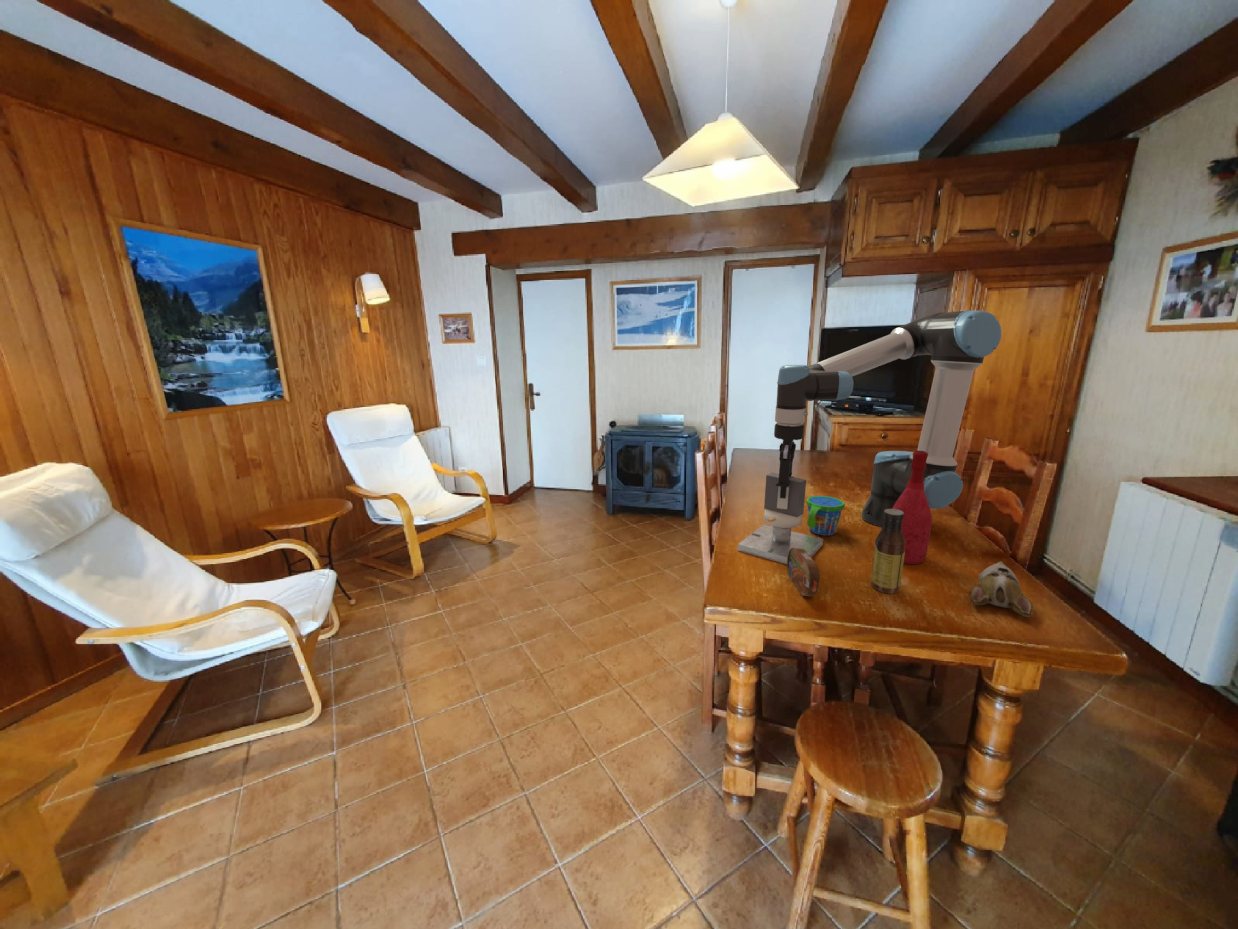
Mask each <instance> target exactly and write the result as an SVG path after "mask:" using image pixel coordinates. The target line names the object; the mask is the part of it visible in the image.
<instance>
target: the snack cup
mask: <svg viewBox="0 0 1238 929" xmlns="http://www.w3.org/2000/svg"><path fill="white" fill-rule="evenodd" d="M805 504H806V505H807V514H808V518H807V520H806V524H807V526H808V528H809V531H811V533H814V534H815V535H819V536H820V535H821V536H829V537H830V536H832V535H835V534H836V532H837V528H838V525H839V522H840V518H841V514H842V511H843V510H844V508H845V506H846V505H845V502H844V501H843V500H841V499H839V498H837V497H834V496H825V495H814V496H813V495H812V496H809V497H808V498H807V499H806V501H805Z"/></svg>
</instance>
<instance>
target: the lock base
mask: <svg viewBox="0 0 1238 929" xmlns="http://www.w3.org/2000/svg"><path fill="white" fill-rule="evenodd" d="M823 542H824V538H821V537H818V536H812V535H808V534H805V533H801V532H796V531H792V528H781V527H776V526H772V525H768V524H767V525H766V524H762V525H761V526H760V527H758V528H757V529H756V530H754V531H753V532H752V533H750V534H749V535H748V536H747V537H746V538H744V539H743V540H741V541H740V542H739V543H737V551H738V552H742V553H745V554H748V555H751V556H755V557H759V558H762V559H766V560H769V561H774V562H777V563H781V564H785V565H787V559H788V553H789V551H790V549H791V548H799V549H804V550H805V551H806V552H807V554H808V555H809V556H810V557H811V558H812V557H813V556H814V555H816V553H817V552H818V551H819V549H820V548H821V547H823Z"/></svg>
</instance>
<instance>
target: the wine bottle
mask: <svg viewBox="0 0 1238 929" xmlns="http://www.w3.org/2000/svg"><path fill="white" fill-rule="evenodd" d="M912 452H913V461H912V464H911V468H912V472H911V477H910V480H909V482H908V484H907V486H906V489H905V490H904V492H903V493H902V494H901V496H900V497H899V498H898V500H897V501H896V503H895V505H894V506H893V508H892V509H897V510H900V511H903V512H904V518H903V520H902V530H901V532H902V534H903V535H904V538H905V555H904V563H903V564H906V565H918V564H922V563H923V562H924V561H925V560H926V557H927V553H928V549H929V545H930V544H929V543H930V539H931V533H932V527H933V526H932V525H933V516H932V511H931V508H930V506H929V503H928V501H927V498H926V495H925V492H924V483H923V474H924V469H926V461H927V457H928V453H927V452H925V451H917V450H914V451H912Z"/></svg>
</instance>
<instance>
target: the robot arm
mask: <svg viewBox="0 0 1238 929" xmlns="http://www.w3.org/2000/svg"><path fill="white" fill-rule="evenodd" d="M1001 340H1002V326H1001V324H1000V322H999V320H997V317H996V316H995V315H994V314H993V313H991V312H989V311H986V310H974V309H971V310H969V309H968V310H961V311H958V310H957V311H949V312H937V313H932V314H928V315H925V316H923V317H920V318H918V319H915V320H913V321H911V322H908V323H906V324H903V325H901V326H899V327H898V326H897V327H896V328H894V329H892V331H891V332H890V333H889V334H887V335H885V336H882V337H879V338H877V339H875V340H872V341H869V342H867V343H864V344H862V345H859V346H857V347H855V348H851V349H850V350H847V351H844V352H842V353H839V354H836V355H833V356H831V357H828V358H827V359H824V360H821V361H819V362H816V363H814V364H811V365H806V364H785V365H782V366H781V367H779V370H778V375H777V382H776V384H777V388H776V389H777V390H776V391H777V392H776V404H775V405H776V406H775V413H774V414H775V415H774V422H775V424H774V433H773V436H774V438H776V439H777V440H782V442H781V443H780V444H779V449H778V450H779V469H778V470H779V471H778V472H779V473H778V474H779V482H778V484H776V486H778V499H777V508H780V509H787V507H788V495H789V476H791V477H794V476H792V475H793V462H794V459H795V452H796V448H797V444H796V443H795V441H800V440H802V439H803V438H804V434H805V424H804V423H805V421H806V419H805V418H806V416H808V415H809V413H808V411H806V410H807V402H812V401H835V402H836V401H838V400H839V401H840V400H846V399H848V398H849V397H850V396H851V395H852V392H853V390H854V384H855V383H854V379H853V377H854V376H857V375H860V374H862V373H865V372H868V371H870V370H872V369H875V368H878V367H879V366H884V365H885V364H888V363H891V362H893V361H896V360H898V359H900V360H907V359H910V358H912V357H917V356H927V355H928V356H931V358H930V362H931V364H932V365H933V366H934V368H935V371H934V375H933V380H932V384H931V389H930V393H929V397H928V402H927V406H926V409H925V410H926V411H925V414H924V418H923V424H922V428H921V433H920V438H919V441H918V446H917V449H916V451H925V452H927V453H928V457H927V461H926V469H924V474H923V483H924V492H925V495H926V498H927V501H928V503H929V506H930V509H933V510H939V509H943V508H946V507H948V506H950V504H952V503H955V501H956V500H957V499H958V498H959V497H960V495H961V493H962V491H963V488H964V483H963V479H962V477H961V476H960V475H959V473H957V468H958V462H957V461H956V459H955V458H954V457H953V456H954V453H955V449H956V446H957V440H958V436H959V431H960V428H961V424H962V420H963V415H964V411H965V409H966V408H965V407H966V403H967V400H968V396H969V391H970V388H971V383H972V380H973V374H974V371H975V370H976V369H977V368H979V367H981V366H982V365H983V364H984V359H985V357H987V356H989V355H991V354H992V353H994V350H996V349H997V348H998V346H999V344H1000V342H1001ZM913 452H914V451H907V450H906V451H905V450H904V451H903V450H888V451H887V450H886V451H880V452H878V453H877V454H875V456H874V462H873V470H872V478H871V479H872V480H871V486H870V495H869V497H868V499H867V500H866V502H865V504H864V506H863V508H862V510H861V518H862V519H863V520H864V521H865V522H867V523H868V524H872V525H874V526H876V527H881V528H883V522H884V516H883V513H884V510H885V509H892V508H893V506H894V505H895V503H896V501H897V500H898V498H899V497H900V496H901V494H902V493H903V492H904V490H905V489H906V486H907V484H908V482H909V480H910V477H911V472H912V468H911V464H912V461H913Z"/></svg>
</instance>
